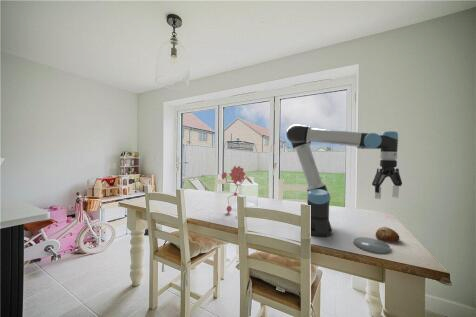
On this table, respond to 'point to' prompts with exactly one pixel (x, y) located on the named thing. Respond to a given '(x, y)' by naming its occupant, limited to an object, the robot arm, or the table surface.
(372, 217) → the table surface
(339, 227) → the table surface
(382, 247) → the plate
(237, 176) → the red flower ornament
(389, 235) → the bread roll
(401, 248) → the table surface
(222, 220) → the table surface
